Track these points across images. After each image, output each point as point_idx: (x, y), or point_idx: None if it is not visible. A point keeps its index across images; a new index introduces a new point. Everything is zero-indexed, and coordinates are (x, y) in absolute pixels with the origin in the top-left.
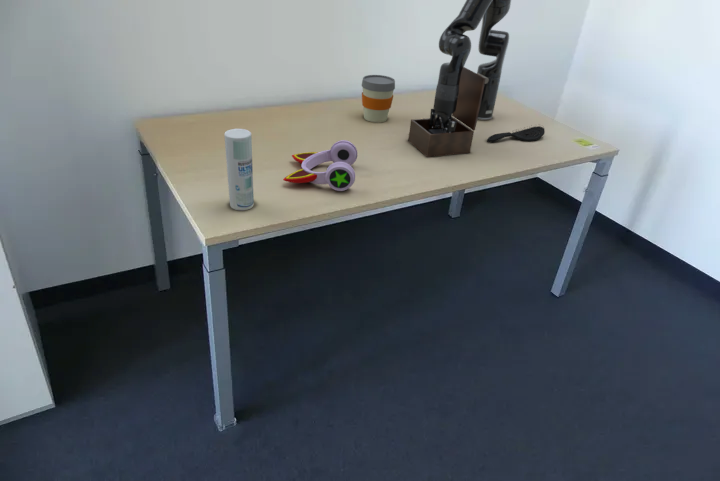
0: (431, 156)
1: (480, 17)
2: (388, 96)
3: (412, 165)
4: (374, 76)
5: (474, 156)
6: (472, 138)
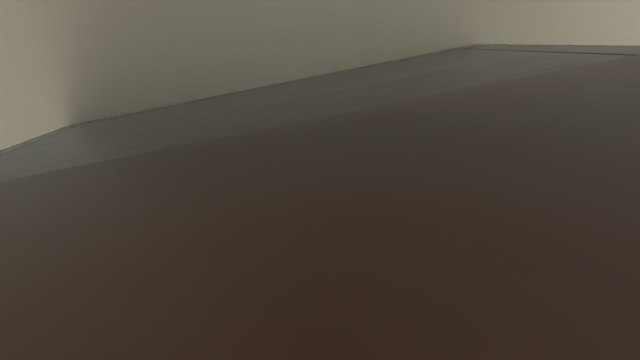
0: None
1: None
2: None
3: None
4: None
5: (557, 23)
6: (609, 47)
